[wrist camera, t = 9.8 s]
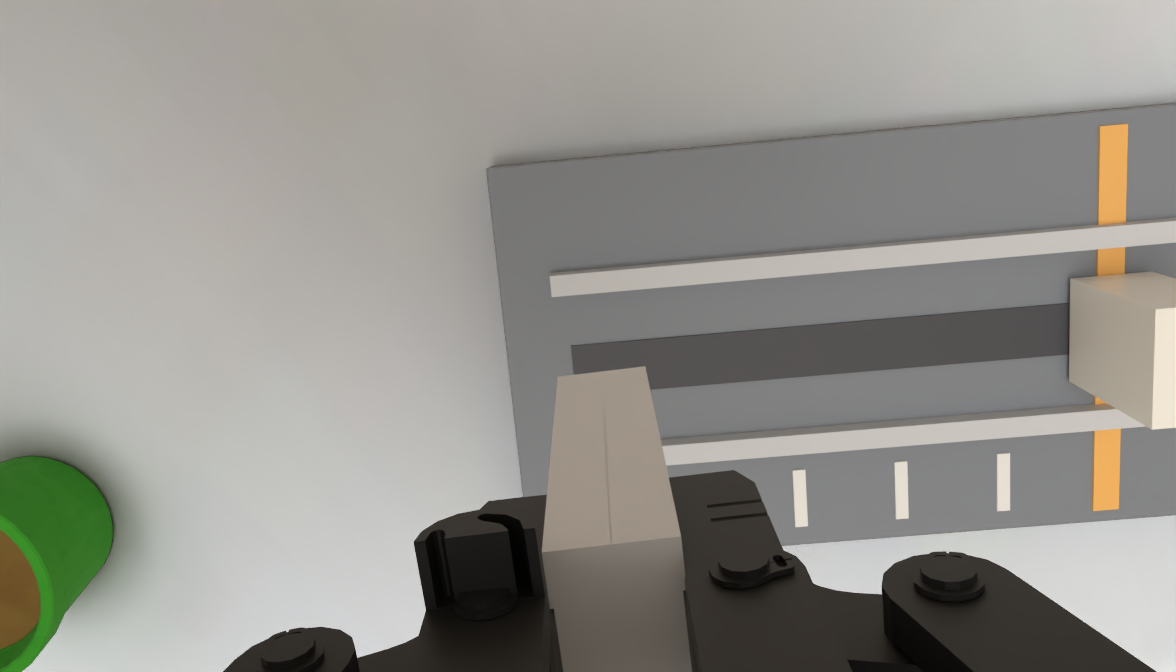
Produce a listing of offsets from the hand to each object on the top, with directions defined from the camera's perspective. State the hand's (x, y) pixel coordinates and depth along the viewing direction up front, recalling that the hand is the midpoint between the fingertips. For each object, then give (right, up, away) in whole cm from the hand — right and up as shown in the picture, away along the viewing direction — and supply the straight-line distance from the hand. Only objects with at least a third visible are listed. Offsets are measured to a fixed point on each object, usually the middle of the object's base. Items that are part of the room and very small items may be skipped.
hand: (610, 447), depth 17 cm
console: (+12, +2, +23) cm, 26 cm away
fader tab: (+19, +2, +21) cm, 29 cm away
